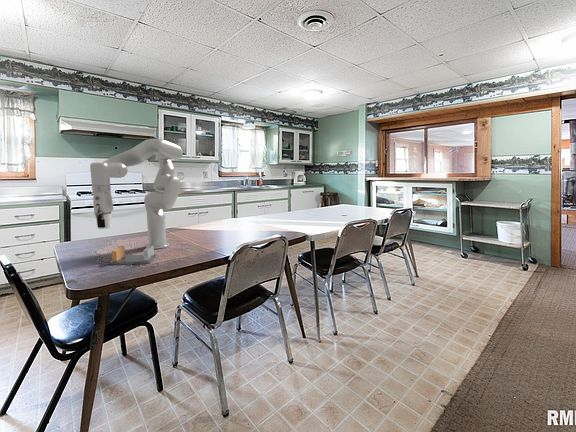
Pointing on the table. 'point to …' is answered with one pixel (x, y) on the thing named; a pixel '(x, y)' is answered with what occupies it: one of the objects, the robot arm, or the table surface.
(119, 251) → the slide jaw
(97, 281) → the table surface
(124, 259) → the vise base
